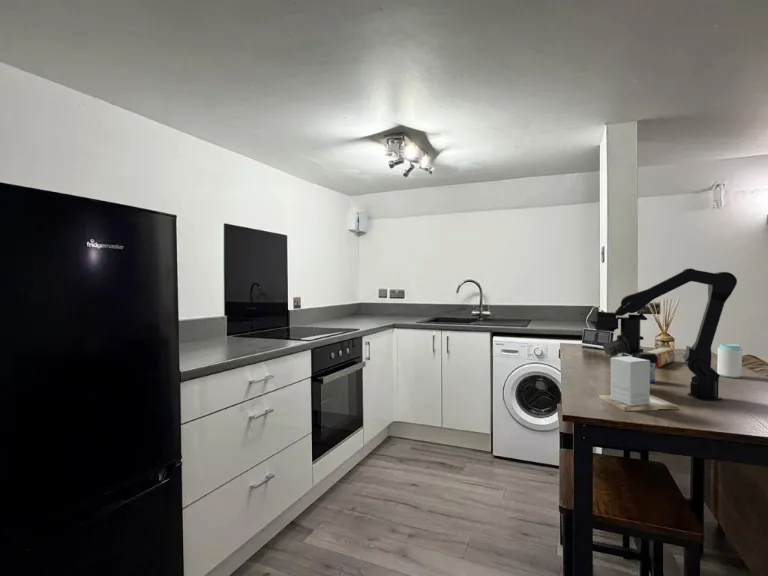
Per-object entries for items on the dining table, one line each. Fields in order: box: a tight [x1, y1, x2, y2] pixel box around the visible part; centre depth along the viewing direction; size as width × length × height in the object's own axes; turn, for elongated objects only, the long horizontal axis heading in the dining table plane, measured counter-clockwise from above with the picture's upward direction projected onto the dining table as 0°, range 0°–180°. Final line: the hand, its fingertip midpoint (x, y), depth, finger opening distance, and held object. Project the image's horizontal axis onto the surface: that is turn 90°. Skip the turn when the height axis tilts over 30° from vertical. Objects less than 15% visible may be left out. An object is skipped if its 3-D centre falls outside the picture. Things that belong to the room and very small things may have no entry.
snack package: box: [647, 347, 675, 369], centre depth 180 cm, size 21×7×7 cm, turn 130°
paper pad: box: [598, 394, 679, 412], centre depth 125 cm, size 16×12×1 cm
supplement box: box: [610, 356, 651, 406], centre depth 123 cm, size 7×7×13 cm
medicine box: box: [650, 363, 656, 383], centre depth 152 cm, size 8×4×9 cm, turn 68°
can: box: [716, 343, 743, 379], centre depth 158 cm, size 7×7×12 cm
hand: (629, 379), depth 141 cm, fingers closed, pressing on done button
